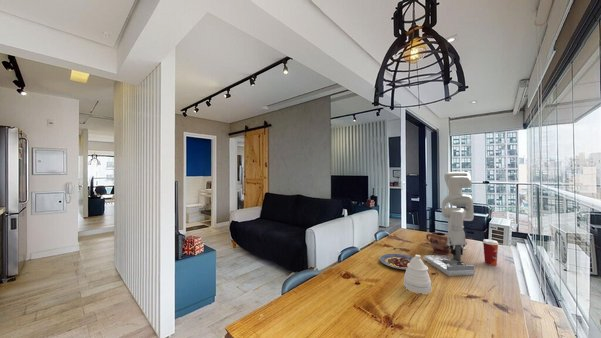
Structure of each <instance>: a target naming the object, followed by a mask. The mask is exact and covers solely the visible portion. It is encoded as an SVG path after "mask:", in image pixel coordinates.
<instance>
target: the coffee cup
mask: <svg viewBox="0 0 601 338" xmlns="http://www.w3.org/2000/svg"><path fill="white" fill-rule="evenodd" d="M482 243H483V244H482V245H483V255H484V263H485V265H488V266H489V265H490V266H497V264H498V252H499V251H498V250H499V249H498V248H499V242H498V241H497V240H494V239H487V238H486V239H485V238H484V239H483V241H482Z"/></svg>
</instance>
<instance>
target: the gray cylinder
mask: <svg viewBox="0 0 601 338" xmlns="http://www.w3.org/2000/svg"><path fill="white" fill-rule="evenodd" d="M455 250H456V255H453V254H452V258H453V259H455V260H457V261H461V260H462V257H461V256H462V255H461V245H455Z"/></svg>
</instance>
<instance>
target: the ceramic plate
mask: <svg viewBox="0 0 601 338" xmlns="http://www.w3.org/2000/svg"><path fill="white" fill-rule="evenodd" d="M393 257H396V258H393ZM413 257H414V256H412V255H408V254H403V253H385V254H382V255H381V256H379V260H380V262H381V263H382V264H384V265H386V266H388V267H391V268H394V269H397V270H398V269H399V270H406V269H407V268H401V267H407V264H408V263H410V261H411V260H412V258H413ZM388 258H391V259H388ZM397 258H400V259H397ZM387 259H388V262H386V260H387ZM408 260H410V261H408ZM390 263H392V264H393V265H394V264H395V265H396V266H399V267H396V266H392V265H389V264H390Z"/></svg>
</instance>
